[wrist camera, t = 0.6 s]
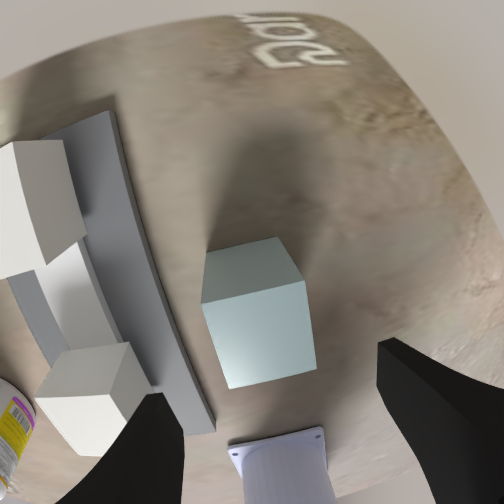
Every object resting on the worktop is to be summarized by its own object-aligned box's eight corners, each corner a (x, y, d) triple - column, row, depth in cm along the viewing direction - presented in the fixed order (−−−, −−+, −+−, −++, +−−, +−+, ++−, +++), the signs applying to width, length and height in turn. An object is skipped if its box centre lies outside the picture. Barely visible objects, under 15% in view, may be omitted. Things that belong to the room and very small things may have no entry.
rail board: (216, 422, 22) (218, 489, 16) (103, 432, 22) (87, 490, 16) (114, 111, 14) (60, 97, 9) (-16, 171, 14) (-83, 188, 8)
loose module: (290, 306, 19) (316, 368, 13) (225, 321, 19) (229, 389, 13) (277, 236, 18) (304, 280, 12) (206, 252, 18) (200, 304, 12)
